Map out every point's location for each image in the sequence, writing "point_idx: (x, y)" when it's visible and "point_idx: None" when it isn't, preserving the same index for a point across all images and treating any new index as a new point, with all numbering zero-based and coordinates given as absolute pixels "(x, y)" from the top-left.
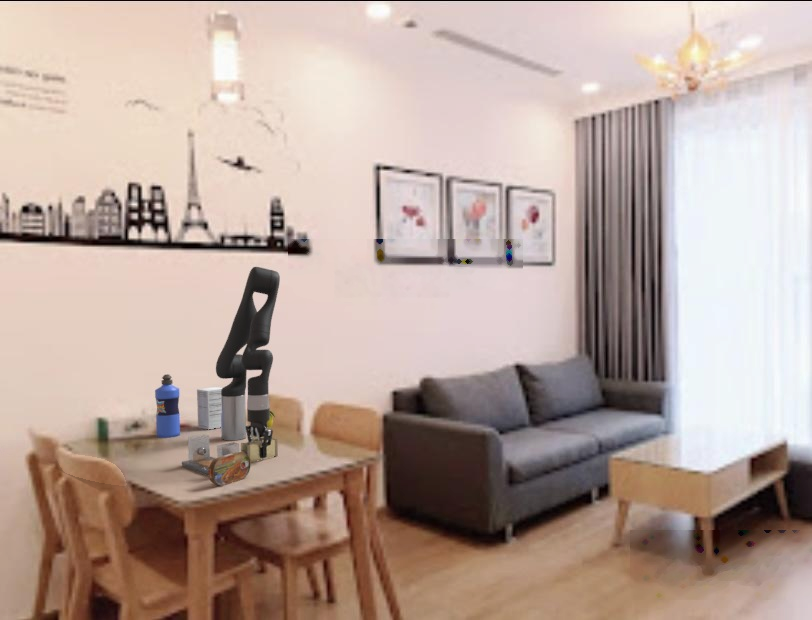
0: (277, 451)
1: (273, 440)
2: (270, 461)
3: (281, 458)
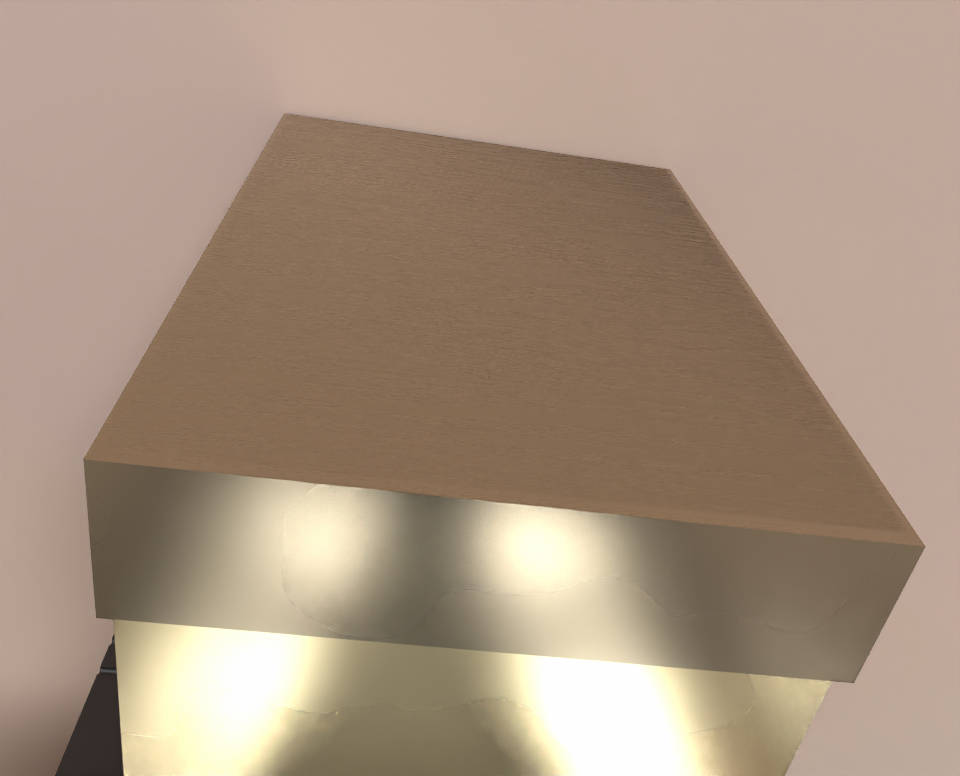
0: (707, 234)
1: (794, 713)
2: None
3: (931, 269)
